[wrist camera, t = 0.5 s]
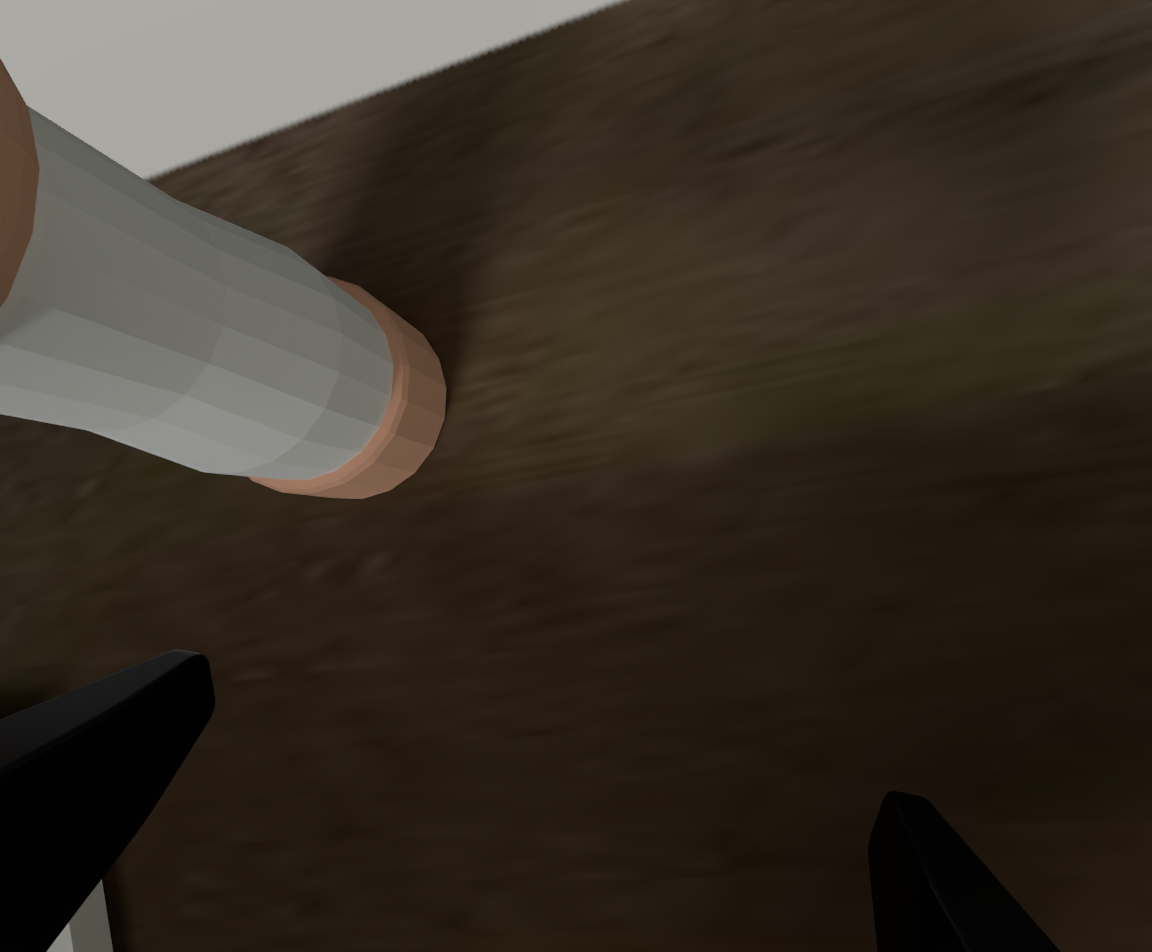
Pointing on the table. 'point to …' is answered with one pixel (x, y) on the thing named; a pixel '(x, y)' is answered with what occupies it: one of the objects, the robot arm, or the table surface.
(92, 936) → the button board
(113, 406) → the pepper shaker
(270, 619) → the table surface
